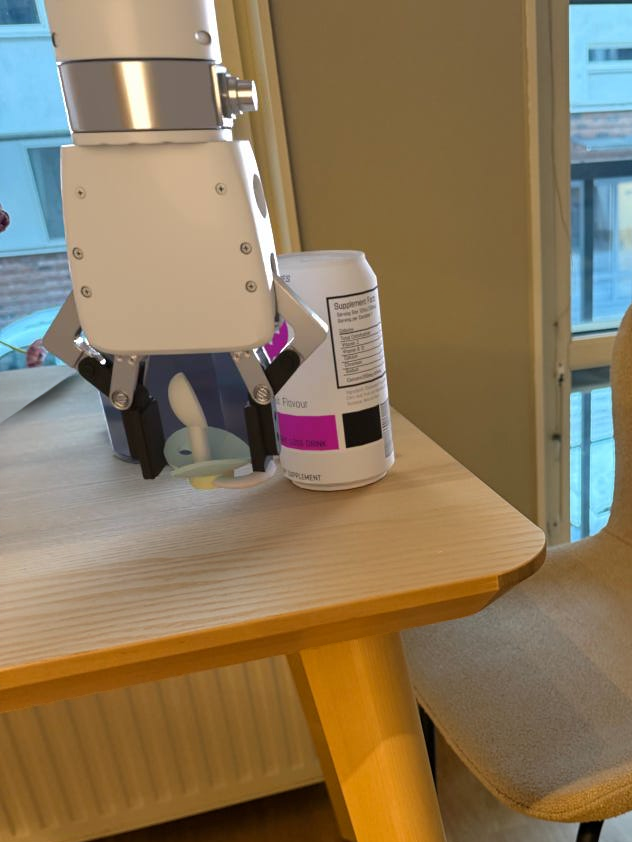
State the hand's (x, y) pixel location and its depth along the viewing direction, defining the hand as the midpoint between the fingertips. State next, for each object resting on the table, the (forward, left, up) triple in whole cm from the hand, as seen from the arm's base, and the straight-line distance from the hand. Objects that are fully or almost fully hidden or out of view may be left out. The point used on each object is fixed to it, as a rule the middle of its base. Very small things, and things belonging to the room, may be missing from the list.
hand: (209, 466), depth 54 cm
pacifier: (+1, 0, -1) cm, 1 cm away
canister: (-7, +26, -5) cm, 27 cm away
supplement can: (+6, +14, -6) cm, 16 cm away
